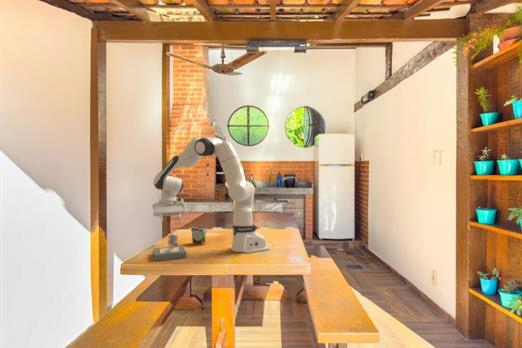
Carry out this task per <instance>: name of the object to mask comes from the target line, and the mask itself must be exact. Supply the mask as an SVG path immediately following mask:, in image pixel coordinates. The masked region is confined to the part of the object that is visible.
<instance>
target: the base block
mask: <svg viewBox="0 0 522 348" xmlns="http://www.w3.org/2000/svg"><path fill="white" fill-rule="evenodd" d="M152 251H153V260H154V262H161V261H169V260H179V259H186V258H187V251H186V250H185V247H184V246H183V245H178V246H176V247H168V246H167V247H157V248H156V247H155V248H153V250H152Z"/></svg>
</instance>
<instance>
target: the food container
mask: <svg viewBox="0 0 522 348" xmlns="http://www.w3.org/2000/svg"><path fill="white" fill-rule="evenodd" d="M207 229H208V228H207V227H205V226H191V228H190V231H191V239H192V244H193V245H198V246H205V245H206V235H207V234H206V233H207V232H208V230H207Z"/></svg>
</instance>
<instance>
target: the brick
mask: <svg viewBox="0 0 522 348" xmlns="http://www.w3.org/2000/svg"><path fill="white" fill-rule="evenodd" d="M178 238H179V237H178V233H177V232H176V233H175V232H174V233H168V234H167V244H168V245H167V247H176V246H179V244H178V243H179V242H178V241H179V240H178Z"/></svg>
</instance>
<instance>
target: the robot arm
mask: <svg viewBox="0 0 522 348" xmlns="http://www.w3.org/2000/svg"><path fill="white" fill-rule="evenodd" d="M202 157H217V159H218V162H219V164H220V167H221V168H222V171H223V173H224V176H225V180H226V185H227V187H228V188H227V189H228V197H229V198H230V199H231V200H233V201H234V207H233V210H232V216H233V217H232V219H233V222H232V223H233V224H232V242H231V243H232V244H231V247H230V250H231V252H237V253H245V254H250V253H256V252H261V251H268V250H271V246H270V245H269V244H268V243H267V241H266V238H265V237H264V235H262V234H261V233H260V232H258V231H257V230H258V229H259V228H260V227H259V226H258V225H255V224H253V210H254V209H253V207H254V202H255V193H256V187H255V185H254V184H253V183H252V182H250V181H249V180H246V177H245V173H244V167H243V165H242V162H241V160H240V157H239V155H238V153H237V152H236V149H235V147H234V146H233V145H232V143H231V142H229V141H226V140H225V139H223V138H221V137H219V136H218V137H217V136H216V137H215V136H213V137H212V136H208V137H197V136H196V137H193V138H192V139H190V141H189V142H188V143H187V145H186V146H185V147H184V150H183V151H182V152H181V153H179V154H177V155H174V156H173V157H172V158H171V159H170V160H169V161H168V162H167V164H166V165H165V166H164V167H163V169H161V171H160V172H159V173H157V175H155V177H154V178H153V185H154V187H155V188H156V190H160V193H161V202H155V203H152V210H153V211H152V212H153V213H152V214H153V216H154V217H159V218H160V220H161V222H164V221H165V217H166V216H168V217H169V216H170V217H171V216H176V217H177V221H180V220H181V217H182V216H183V215H186V214H187V211H188V210H187V206H186V203H185V201H184V199H183V198H180V197H177V196H178V195H179V194H180V193H181V192H182V191H183V190H184V180H183V179H182V178H180V177H176V176H171V174H172V172H173V171H174V170H175V169H179V168H191V167H195V166H196V165H197V164H198V163H199V161H200V160H201V159H202Z"/></svg>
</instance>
